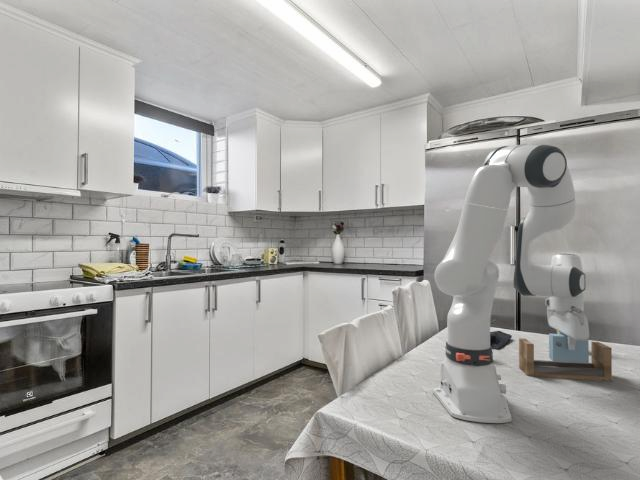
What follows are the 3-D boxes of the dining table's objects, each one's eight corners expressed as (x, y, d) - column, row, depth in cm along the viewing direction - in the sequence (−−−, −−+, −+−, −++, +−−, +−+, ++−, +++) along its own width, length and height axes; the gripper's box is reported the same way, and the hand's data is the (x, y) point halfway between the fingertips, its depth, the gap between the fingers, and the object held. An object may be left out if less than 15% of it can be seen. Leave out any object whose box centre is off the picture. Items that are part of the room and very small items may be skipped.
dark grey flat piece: (518, 341, 156) (518, 330, 156) (497, 352, 141) (497, 339, 141) (483, 334, 167) (483, 324, 167) (459, 343, 153) (459, 332, 153)
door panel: (590, 364, 112) (590, 338, 112) (554, 362, 114) (554, 336, 114) (583, 360, 115) (583, 335, 116) (549, 358, 118) (548, 333, 118)
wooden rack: (612, 381, 110) (612, 348, 110) (527, 375, 115) (527, 344, 115) (597, 371, 118) (597, 341, 118) (518, 367, 122) (518, 337, 122)
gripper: (595, 310, 105) (596, 358, 104) (563, 299, 125) (564, 339, 124) (571, 309, 106) (571, 356, 106) (543, 299, 126) (543, 339, 126)
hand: (567, 347), depth 115 cm, fingers closed on door panel, 3 cm apart
